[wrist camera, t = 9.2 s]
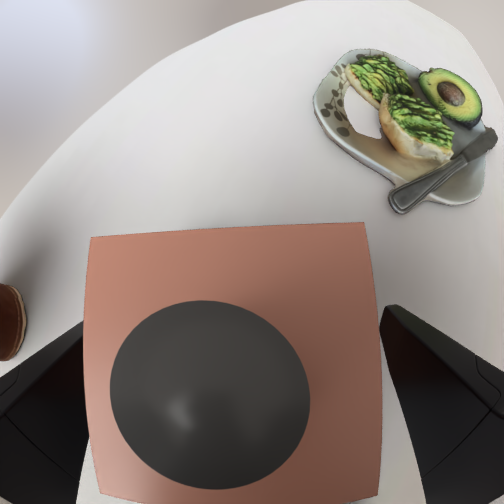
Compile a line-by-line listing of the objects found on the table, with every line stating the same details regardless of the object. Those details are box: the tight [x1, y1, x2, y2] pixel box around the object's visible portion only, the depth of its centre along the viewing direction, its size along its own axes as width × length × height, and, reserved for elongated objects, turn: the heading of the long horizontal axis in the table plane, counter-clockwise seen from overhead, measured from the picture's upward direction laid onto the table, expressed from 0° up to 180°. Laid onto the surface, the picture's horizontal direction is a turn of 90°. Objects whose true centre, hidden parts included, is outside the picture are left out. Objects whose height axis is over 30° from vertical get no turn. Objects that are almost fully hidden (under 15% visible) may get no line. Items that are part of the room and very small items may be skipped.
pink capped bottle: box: [83, 222, 382, 504], centre depth 9 cm, size 4×4×14 cm
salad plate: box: [313, 49, 498, 214], centre depth 19 cm, size 19×18×5 cm
